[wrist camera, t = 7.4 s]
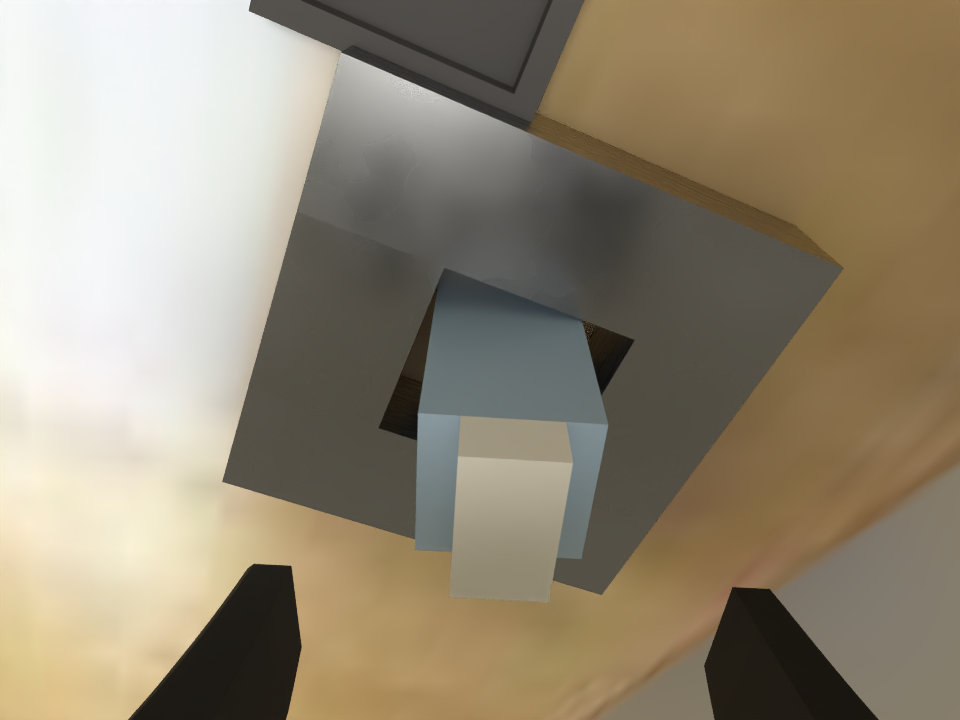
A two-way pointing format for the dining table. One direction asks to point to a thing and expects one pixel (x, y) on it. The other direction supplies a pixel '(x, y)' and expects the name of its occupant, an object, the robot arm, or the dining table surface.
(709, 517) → the dining table surface
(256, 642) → the robot arm
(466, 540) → the plug
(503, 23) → the square shadow box
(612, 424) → the port block
